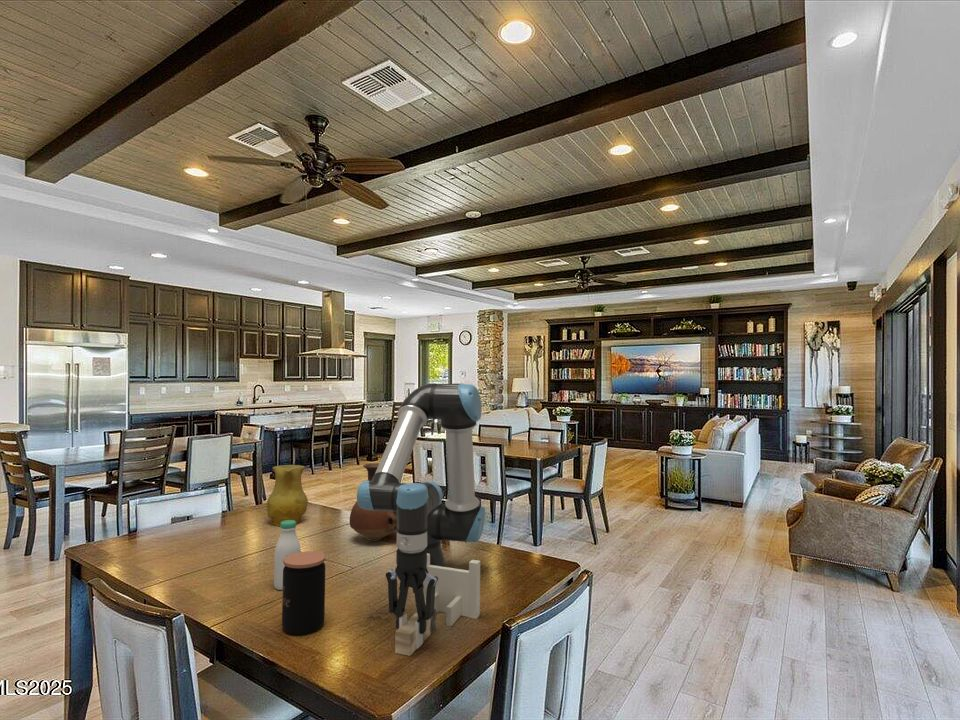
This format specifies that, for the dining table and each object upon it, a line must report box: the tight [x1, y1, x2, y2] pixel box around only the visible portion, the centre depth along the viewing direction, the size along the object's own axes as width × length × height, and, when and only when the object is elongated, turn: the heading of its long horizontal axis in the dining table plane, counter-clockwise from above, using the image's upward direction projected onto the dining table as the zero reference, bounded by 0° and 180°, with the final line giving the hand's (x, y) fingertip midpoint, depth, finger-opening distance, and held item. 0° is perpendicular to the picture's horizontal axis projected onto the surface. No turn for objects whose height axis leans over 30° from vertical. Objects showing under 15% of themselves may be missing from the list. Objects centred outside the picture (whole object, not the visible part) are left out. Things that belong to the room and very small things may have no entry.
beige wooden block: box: [394, 609, 437, 657], centre depth 134 cm, size 14×4×5 cm, turn 160°
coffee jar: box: [281, 550, 326, 636], centre depth 141 cm, size 11×11×18 cm
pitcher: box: [266, 464, 309, 527], centre depth 238 cm, size 17×19×25 cm
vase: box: [349, 462, 397, 542], centre depth 214 cm, size 25×20×30 cm
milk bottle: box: [273, 520, 302, 591], centre depth 168 cm, size 8×8×20 cm
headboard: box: [423, 553, 481, 627], centre depth 148 cm, size 18×9×15 cm, turn 70°
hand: (410, 643), depth 132 cm, fingers closed on beige wooden block, 4 cm apart
